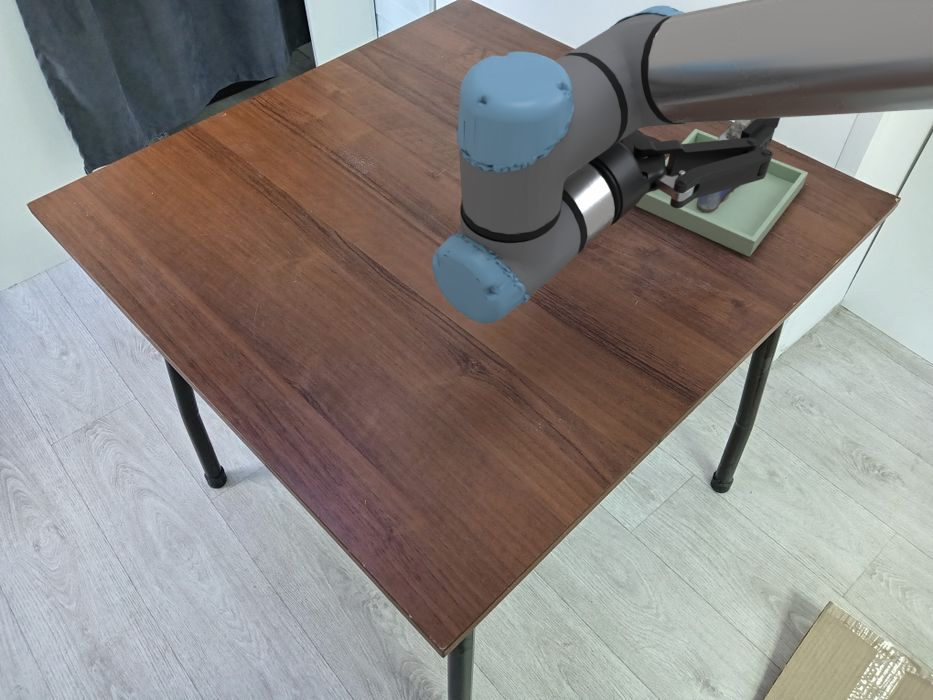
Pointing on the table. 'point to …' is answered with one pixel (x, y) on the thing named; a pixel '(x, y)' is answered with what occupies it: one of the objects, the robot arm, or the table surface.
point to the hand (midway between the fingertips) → (714, 86)
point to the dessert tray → (734, 206)
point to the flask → (715, 199)
